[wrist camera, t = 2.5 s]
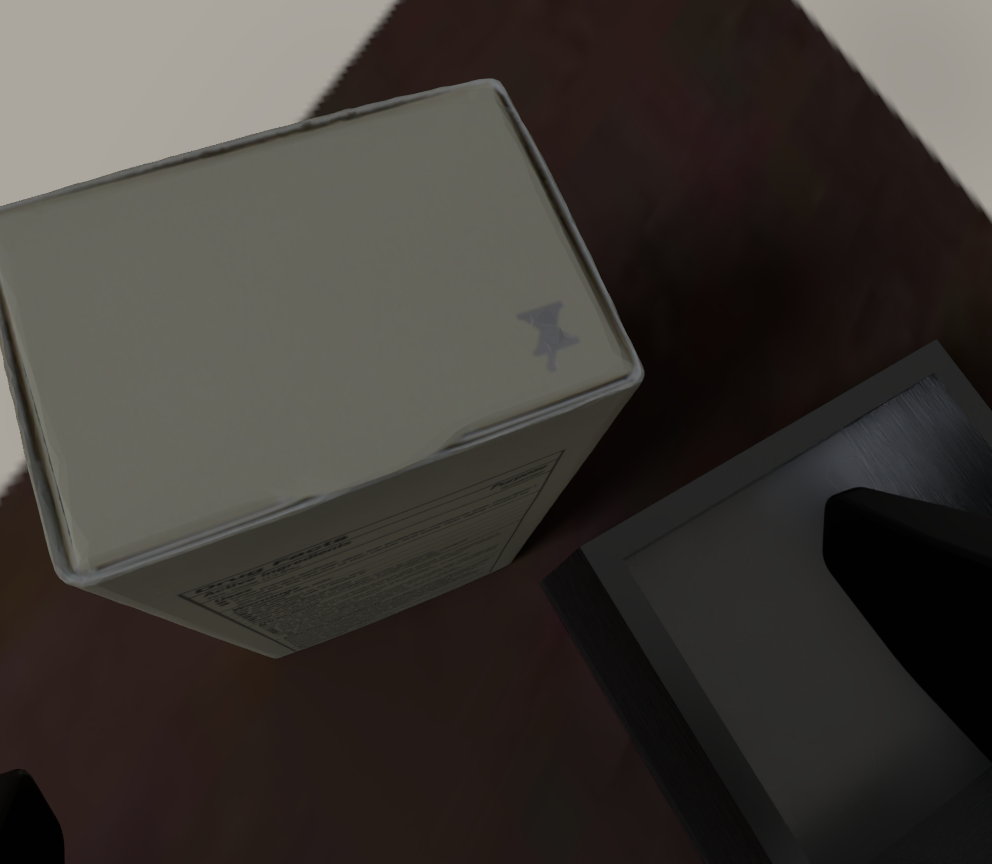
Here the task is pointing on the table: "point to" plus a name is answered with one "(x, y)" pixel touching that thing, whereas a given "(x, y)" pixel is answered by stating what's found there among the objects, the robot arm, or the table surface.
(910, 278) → the table surface
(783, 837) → the grey open tray
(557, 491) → the skincare box
